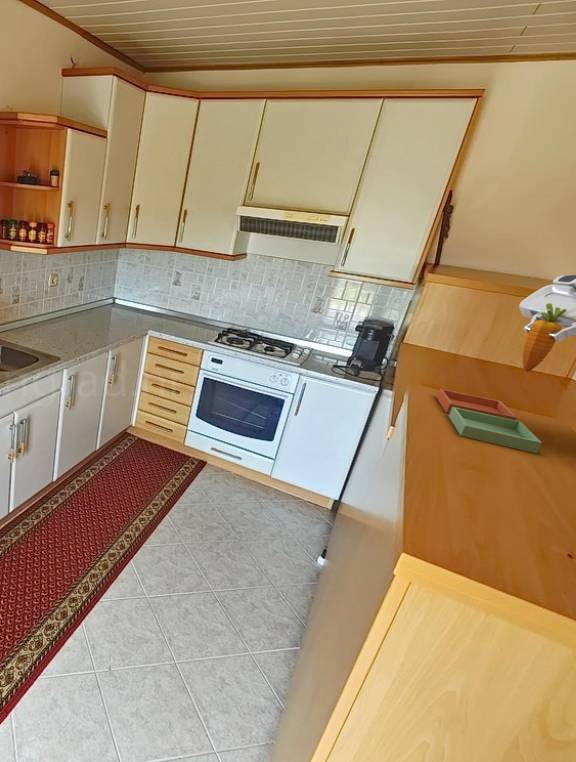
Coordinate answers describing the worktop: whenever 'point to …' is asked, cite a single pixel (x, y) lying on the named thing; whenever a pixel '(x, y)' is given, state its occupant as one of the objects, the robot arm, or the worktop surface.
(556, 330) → the robot arm
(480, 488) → the worktop surface
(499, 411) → the terracotta tray
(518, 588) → the worktop surface
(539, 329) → the carrot
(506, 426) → the green tray
